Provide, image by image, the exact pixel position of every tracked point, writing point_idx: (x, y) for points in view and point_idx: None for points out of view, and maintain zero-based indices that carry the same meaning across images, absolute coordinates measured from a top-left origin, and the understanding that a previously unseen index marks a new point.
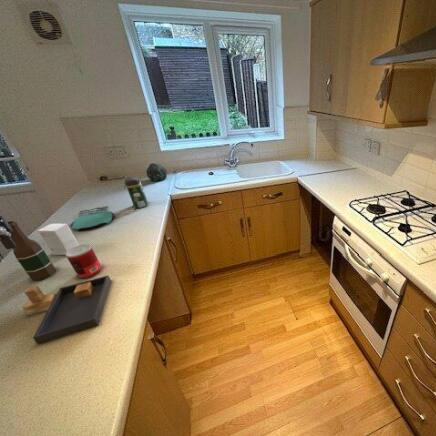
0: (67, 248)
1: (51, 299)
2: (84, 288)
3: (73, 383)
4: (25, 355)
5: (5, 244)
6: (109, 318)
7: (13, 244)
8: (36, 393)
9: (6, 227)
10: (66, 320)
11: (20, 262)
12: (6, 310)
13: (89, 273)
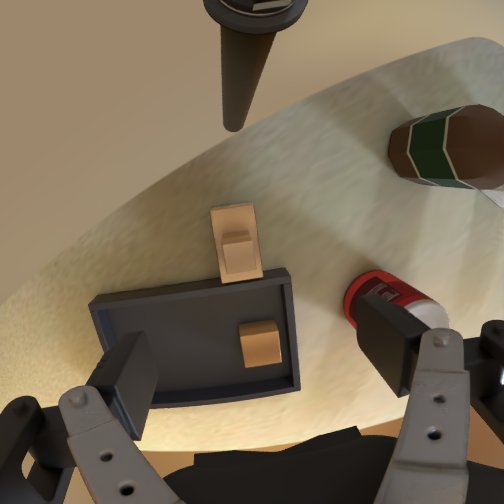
0: (496, 193)
1: (229, 281)
2: (251, 359)
3: (30, 384)
4: (75, 282)
5: (376, 323)
6: (149, 409)
7: (368, 356)
8: (16, 340)
9: (491, 422)
10: (155, 331)
11: (436, 123)
12: (261, 122)
13: (349, 319)
